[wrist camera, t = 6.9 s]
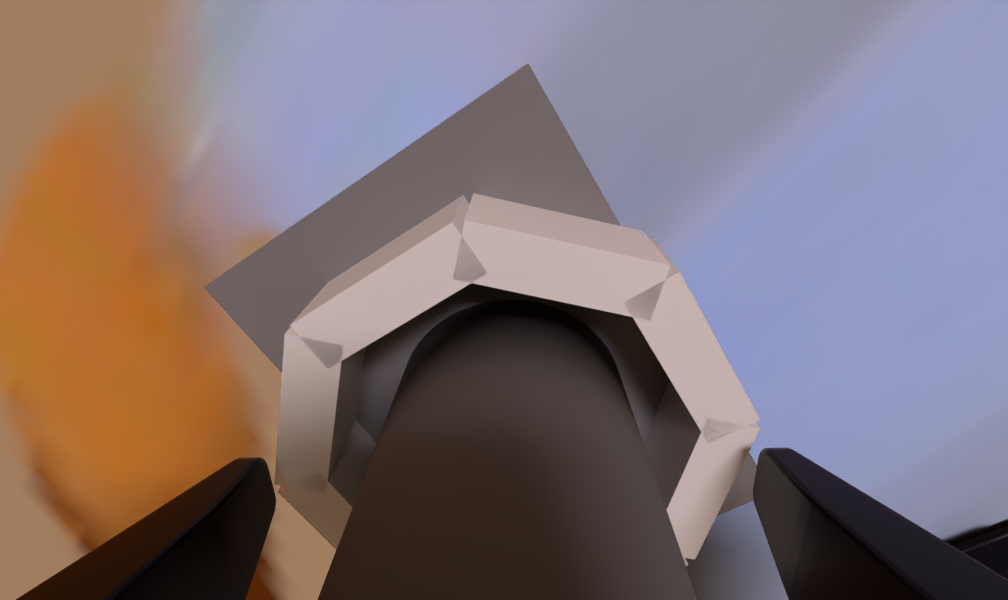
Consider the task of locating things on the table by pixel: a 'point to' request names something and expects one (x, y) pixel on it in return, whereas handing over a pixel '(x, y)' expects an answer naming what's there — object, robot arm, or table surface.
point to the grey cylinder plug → (509, 474)
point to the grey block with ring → (474, 280)
